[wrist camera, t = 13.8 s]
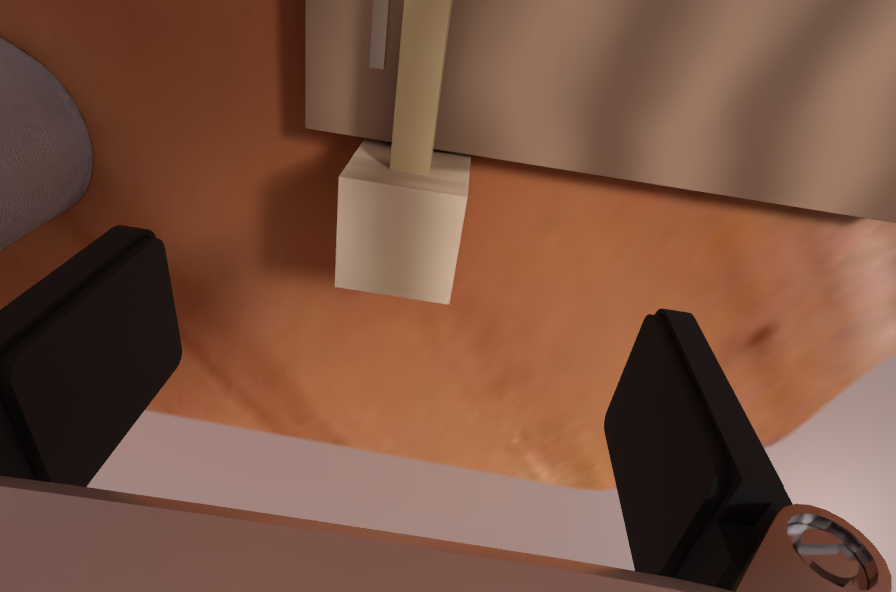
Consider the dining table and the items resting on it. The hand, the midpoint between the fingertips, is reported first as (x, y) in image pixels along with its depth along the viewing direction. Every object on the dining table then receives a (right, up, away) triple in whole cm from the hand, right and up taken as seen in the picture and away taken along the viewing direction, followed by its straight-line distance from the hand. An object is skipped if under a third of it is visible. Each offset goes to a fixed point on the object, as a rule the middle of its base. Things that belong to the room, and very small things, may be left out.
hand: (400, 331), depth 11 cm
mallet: (0, +9, +15) cm, 17 cm away
